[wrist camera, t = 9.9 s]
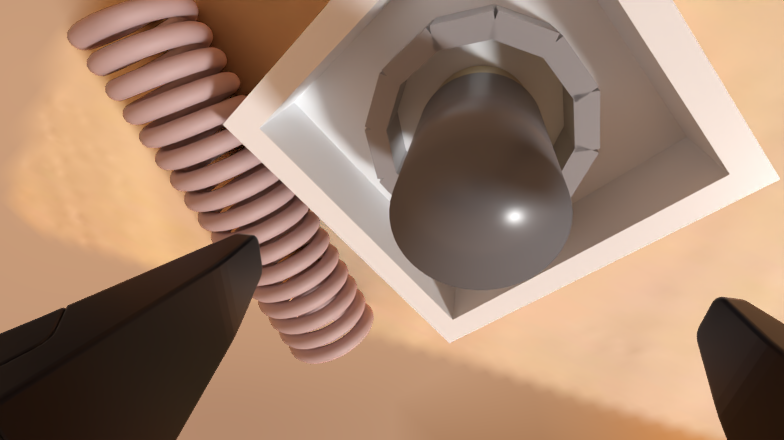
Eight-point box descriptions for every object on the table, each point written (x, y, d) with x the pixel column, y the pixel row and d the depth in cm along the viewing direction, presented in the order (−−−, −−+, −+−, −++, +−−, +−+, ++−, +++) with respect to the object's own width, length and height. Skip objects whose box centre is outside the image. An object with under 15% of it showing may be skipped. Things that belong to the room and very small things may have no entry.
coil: (27, 33, 15) (285, 377, 23) (104, -29, 13) (360, 372, 20) (128, 13, 19) (321, 314, 26) (201, -37, 17) (388, 304, 24)
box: (520, -184, 13) (532, -233, 10) (720, 134, 17) (780, 179, 13) (268, 95, 19) (222, 124, 16) (454, 286, 23) (449, 343, 19)
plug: (491, 33, 16) (497, 94, 9) (559, 124, 17) (609, 237, 10) (402, 110, 18) (353, 206, 11) (469, 186, 19) (461, 313, 12)
